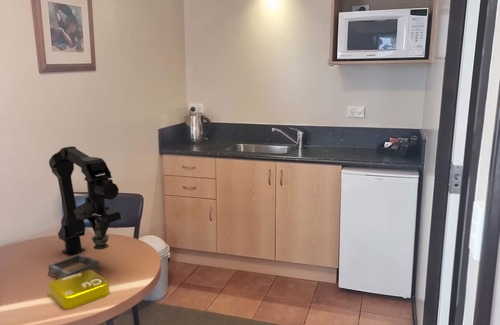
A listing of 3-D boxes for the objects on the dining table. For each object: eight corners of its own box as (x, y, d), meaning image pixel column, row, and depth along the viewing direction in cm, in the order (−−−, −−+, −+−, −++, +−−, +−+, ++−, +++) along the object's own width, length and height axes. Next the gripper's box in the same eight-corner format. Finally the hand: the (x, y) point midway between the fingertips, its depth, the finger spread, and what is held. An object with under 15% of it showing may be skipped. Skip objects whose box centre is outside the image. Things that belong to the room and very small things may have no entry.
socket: (48, 275, 158) (47, 265, 158) (80, 262, 169) (79, 253, 168) (69, 284, 151) (68, 274, 150) (101, 270, 161) (100, 261, 160)
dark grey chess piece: (103, 242, 166) (100, 211, 164) (112, 246, 163) (110, 215, 160) (89, 247, 162) (86, 216, 159) (98, 251, 158) (95, 219, 156)
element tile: (91, 279, 156) (90, 267, 155) (111, 295, 145) (110, 281, 144) (47, 294, 145) (46, 281, 144) (65, 312, 135) (64, 297, 134)
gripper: (60, 195, 157) (64, 236, 160) (93, 204, 146) (97, 248, 150) (87, 188, 166) (91, 227, 169) (120, 196, 155) (123, 237, 159)
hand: (100, 235), depth 161 cm, fingers closed on dark grey chess piece, 3 cm apart
